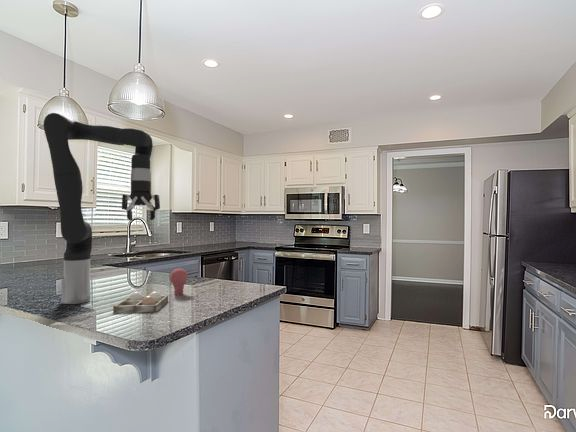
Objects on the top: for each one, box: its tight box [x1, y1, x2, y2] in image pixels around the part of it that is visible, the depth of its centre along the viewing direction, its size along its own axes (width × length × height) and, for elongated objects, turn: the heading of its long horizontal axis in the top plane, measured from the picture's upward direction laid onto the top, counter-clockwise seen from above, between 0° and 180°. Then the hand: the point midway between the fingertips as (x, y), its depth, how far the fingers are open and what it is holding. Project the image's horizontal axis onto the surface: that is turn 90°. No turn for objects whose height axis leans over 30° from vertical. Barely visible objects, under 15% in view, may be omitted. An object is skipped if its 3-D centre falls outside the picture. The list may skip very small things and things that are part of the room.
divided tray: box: [112, 295, 169, 314], centre depth 128 cm, size 15×15×3 cm
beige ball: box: [142, 295, 156, 305], centre depth 124 cm, size 5×5×5 cm
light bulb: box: [169, 268, 188, 296], centre depth 147 cm, size 7×7×12 cm
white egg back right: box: [148, 290, 162, 300], centre depth 131 cm, size 5×5×5 cm
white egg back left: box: [129, 291, 144, 301], centre depth 131 cm, size 5×5×5 cm
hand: (141, 220), depth 138 cm, fingers open, 8 cm apart
